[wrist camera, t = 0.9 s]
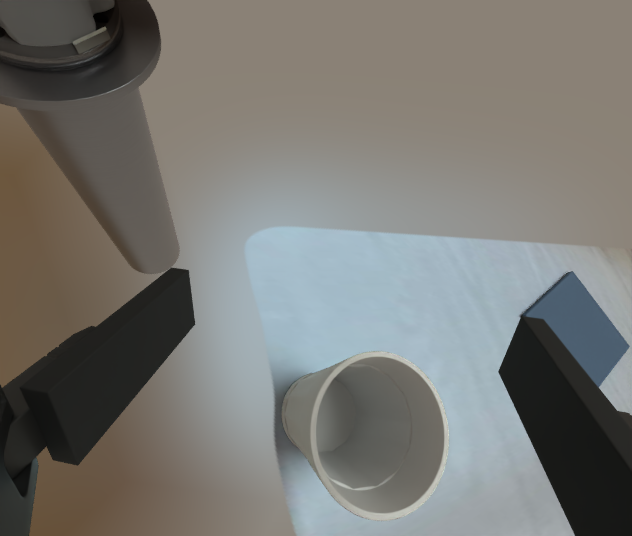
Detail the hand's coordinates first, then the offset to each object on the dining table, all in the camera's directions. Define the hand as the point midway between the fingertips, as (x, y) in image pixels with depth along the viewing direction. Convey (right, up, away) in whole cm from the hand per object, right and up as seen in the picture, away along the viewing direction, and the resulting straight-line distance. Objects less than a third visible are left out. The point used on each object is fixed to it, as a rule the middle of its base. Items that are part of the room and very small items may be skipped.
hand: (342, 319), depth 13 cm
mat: (+30, -6, +26) cm, 40 cm away
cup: (-1, -10, +15) cm, 18 cm away
